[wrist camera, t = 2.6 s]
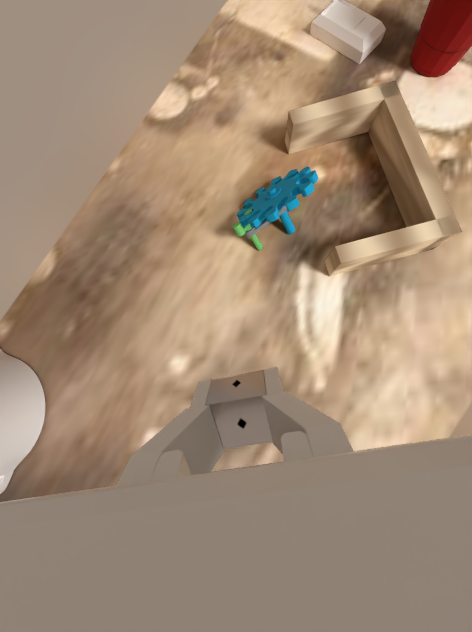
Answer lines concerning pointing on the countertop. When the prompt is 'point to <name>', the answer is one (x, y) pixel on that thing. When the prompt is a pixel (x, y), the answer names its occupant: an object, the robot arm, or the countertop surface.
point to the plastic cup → (443, 37)
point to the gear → (274, 204)
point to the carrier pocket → (398, 165)
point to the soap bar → (348, 30)
